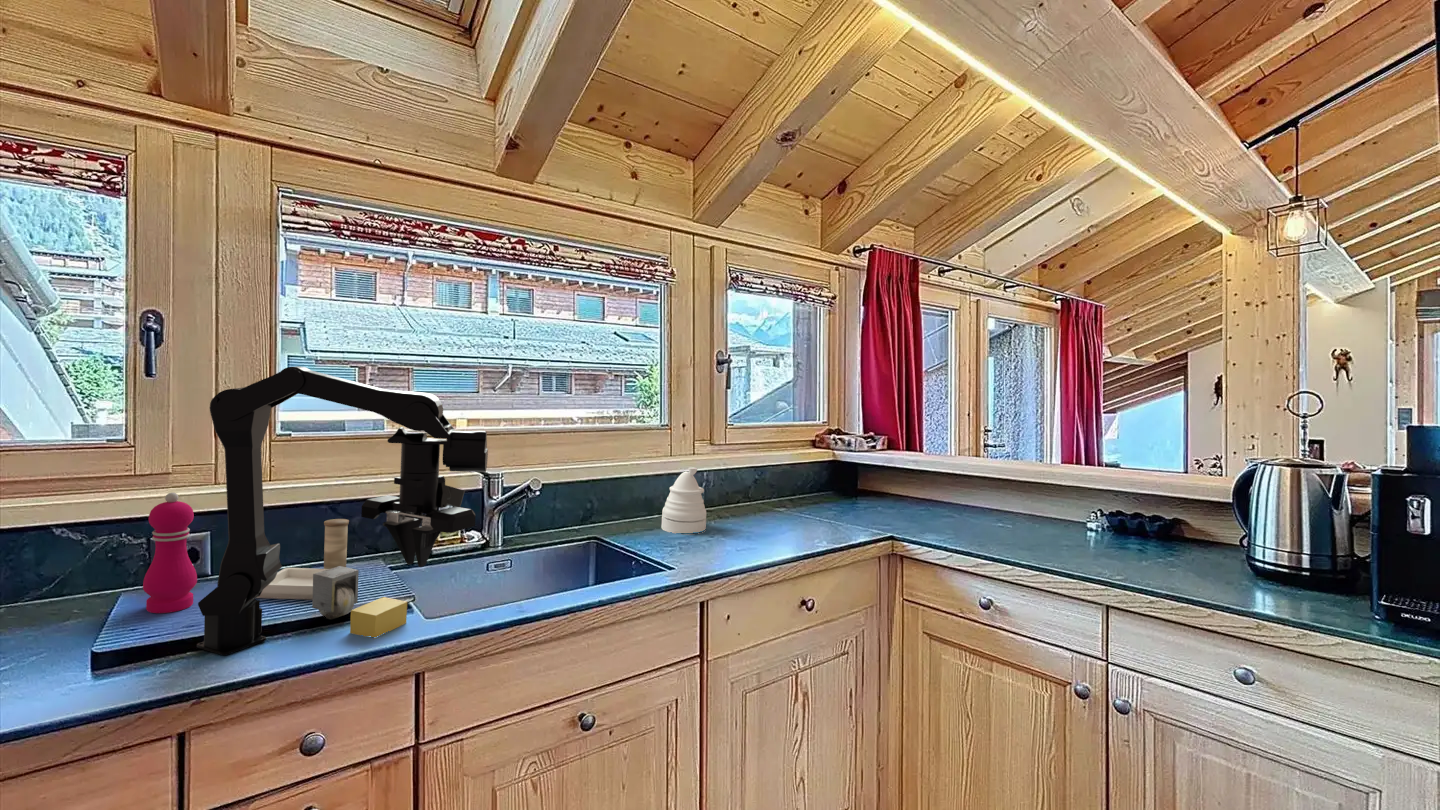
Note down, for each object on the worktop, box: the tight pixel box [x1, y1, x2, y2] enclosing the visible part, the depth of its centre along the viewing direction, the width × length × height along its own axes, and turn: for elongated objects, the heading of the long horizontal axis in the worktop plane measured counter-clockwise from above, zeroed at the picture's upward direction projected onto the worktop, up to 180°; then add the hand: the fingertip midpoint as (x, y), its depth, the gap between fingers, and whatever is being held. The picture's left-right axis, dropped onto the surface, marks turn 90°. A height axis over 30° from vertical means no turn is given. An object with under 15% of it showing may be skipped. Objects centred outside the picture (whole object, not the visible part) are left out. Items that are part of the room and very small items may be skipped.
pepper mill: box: [142, 492, 198, 614], centre depth 115 cm, size 7×7×20 cm
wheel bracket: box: [311, 566, 360, 620], centre depth 116 cm, size 5×6×8 cm
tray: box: [255, 567, 328, 600], centre depth 127 cm, size 10×12×2 cm
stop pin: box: [323, 518, 350, 569], centre depth 136 cm, size 4×4×11 cm
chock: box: [349, 596, 408, 638], centre depth 112 cm, size 7×5×4 cm
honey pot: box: [661, 466, 707, 534], centre depth 193 cm, size 13×13×18 cm
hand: (416, 565), depth 109 cm, fingers open, 2 cm apart
